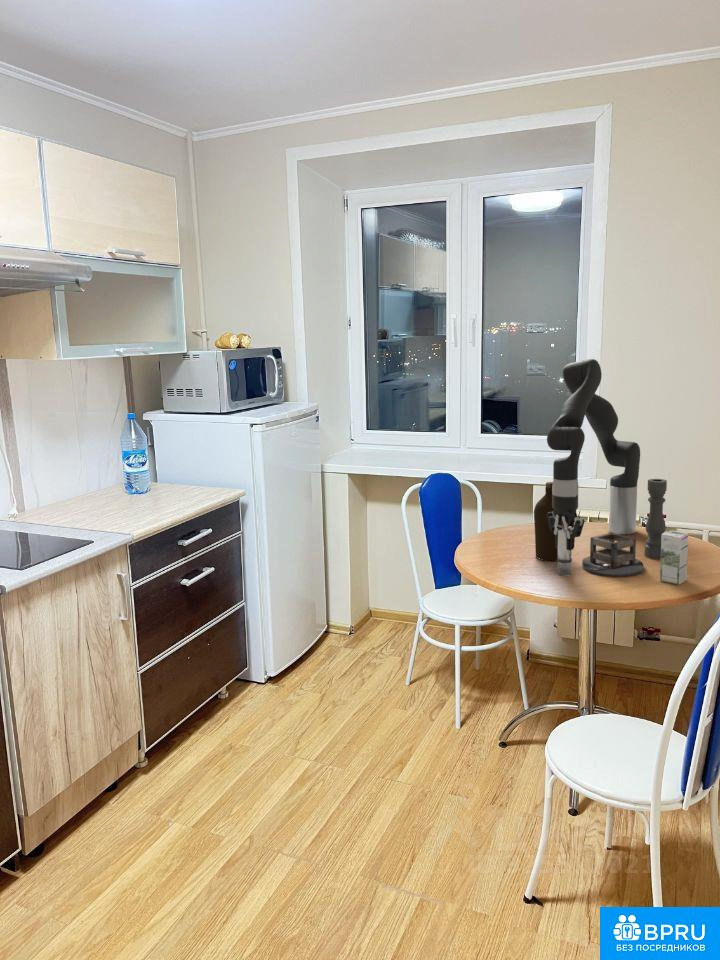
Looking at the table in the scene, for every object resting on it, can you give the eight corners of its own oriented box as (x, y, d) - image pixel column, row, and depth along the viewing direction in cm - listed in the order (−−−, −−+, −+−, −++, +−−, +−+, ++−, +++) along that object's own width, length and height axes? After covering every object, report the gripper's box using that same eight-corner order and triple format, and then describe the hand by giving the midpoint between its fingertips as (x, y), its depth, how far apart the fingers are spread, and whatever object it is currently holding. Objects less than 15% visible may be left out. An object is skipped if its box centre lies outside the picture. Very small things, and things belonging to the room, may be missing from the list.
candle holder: (666, 558, 229) (669, 482, 224) (646, 558, 230) (648, 482, 225) (662, 553, 235) (665, 478, 230) (642, 552, 236) (645, 478, 231)
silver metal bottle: (555, 571, 222) (555, 528, 219) (569, 571, 221) (569, 527, 219) (559, 576, 217) (559, 531, 215) (573, 575, 217) (573, 531, 215)
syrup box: (687, 580, 209) (689, 532, 206) (678, 585, 205) (680, 536, 202) (667, 576, 213) (669, 529, 210) (659, 581, 209) (660, 533, 206)
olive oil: (527, 558, 236) (527, 484, 231) (543, 550, 243) (543, 478, 239) (557, 563, 229) (558, 487, 224) (572, 555, 236) (573, 481, 232)
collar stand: (569, 565, 226) (570, 536, 225) (609, 555, 235) (610, 527, 233) (615, 580, 211) (615, 550, 209) (656, 569, 220) (657, 539, 218)
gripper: (539, 491, 219) (538, 545, 222) (573, 498, 207) (573, 555, 210) (557, 487, 222) (556, 540, 226) (592, 495, 210) (591, 551, 213)
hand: (564, 547), depth 218 cm, fingers closed on silver metal bottle, 4 cm apart
